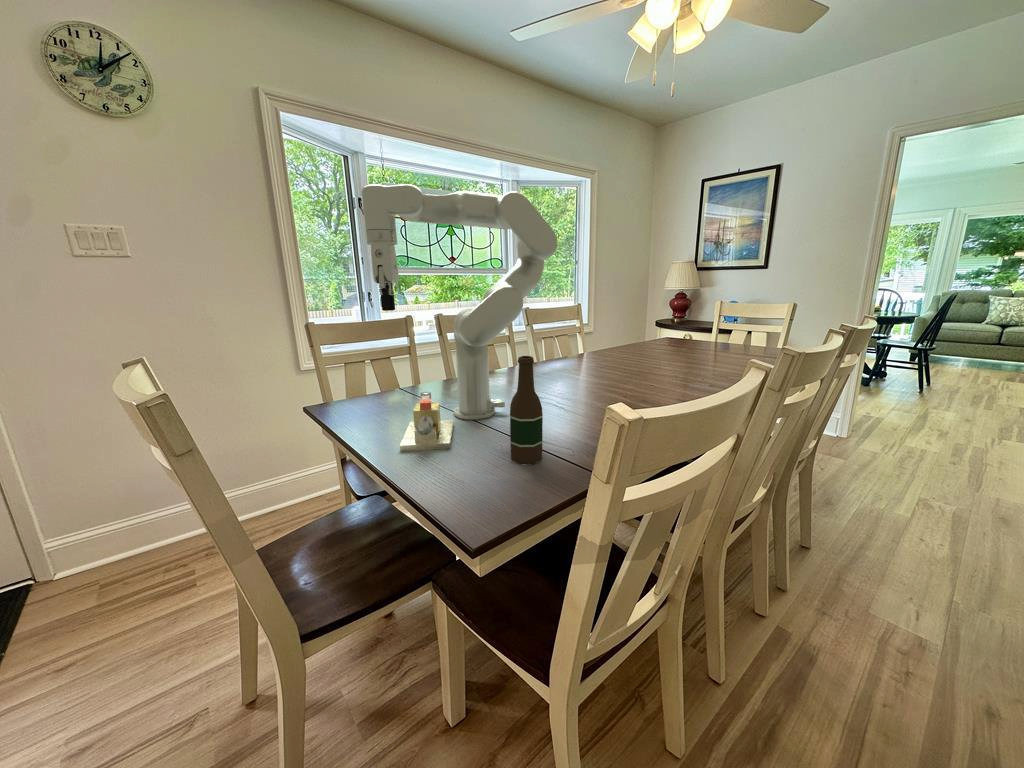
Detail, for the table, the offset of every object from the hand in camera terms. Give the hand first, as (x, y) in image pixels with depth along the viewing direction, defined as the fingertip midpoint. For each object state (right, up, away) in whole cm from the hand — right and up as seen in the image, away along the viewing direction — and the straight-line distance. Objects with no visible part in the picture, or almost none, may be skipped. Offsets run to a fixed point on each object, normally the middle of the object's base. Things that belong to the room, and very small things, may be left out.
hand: (388, 310), depth 107 cm
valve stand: (+12, -34, -3) cm, 36 cm away
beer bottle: (+37, -37, -15) cm, 55 cm away
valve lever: (+12, -25, -9) cm, 29 cm away
